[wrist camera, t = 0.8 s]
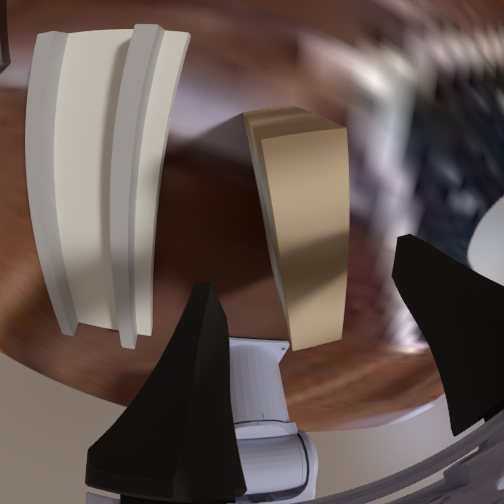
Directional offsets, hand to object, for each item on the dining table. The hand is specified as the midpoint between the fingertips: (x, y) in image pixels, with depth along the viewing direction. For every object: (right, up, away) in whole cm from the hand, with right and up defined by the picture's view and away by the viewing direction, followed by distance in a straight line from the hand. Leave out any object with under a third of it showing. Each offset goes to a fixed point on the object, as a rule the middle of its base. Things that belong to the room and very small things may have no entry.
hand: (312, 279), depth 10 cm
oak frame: (0, +5, +8) cm, 10 cm away
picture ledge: (-13, +4, +7) cm, 16 cm away
